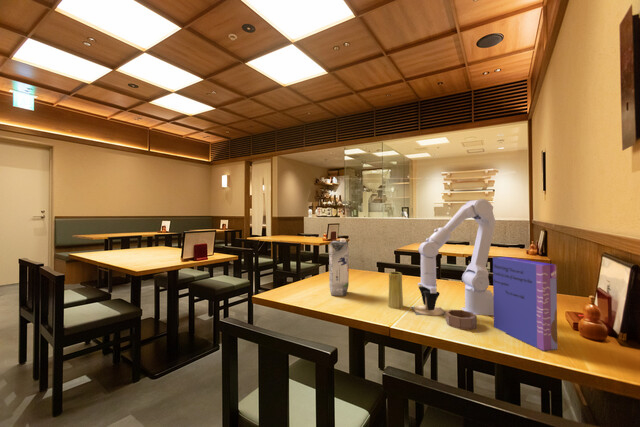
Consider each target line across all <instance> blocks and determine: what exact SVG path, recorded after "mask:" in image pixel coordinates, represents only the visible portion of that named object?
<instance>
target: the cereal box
mask: <svg viewBox="0 0 640 427" xmlns="http://www.w3.org/2000/svg"><path fill="white" fill-rule="evenodd" d="M492 281H493V282H492V284H493V285H492V286H493V288H492V290H493V292H492V294H493V302H494V316H493V327H494V328H495V329H497V330H499V331H501V332H503V333H504V334H505V335H508V336H510V338H511V337H512V338H514V339H516V340H517V341H520V342H522V343H525V344H527V345H529V346H531V347H534V348H535V349H537V350H539V351H542V352H550V351H551V352H552V351H558V350H559V348H558V303H557V302H558V298H557V297H558V296H557V295H558V293H557V284H558V283H557V264H554V263H547V262H542V261H541V262H540V261H534V260H533V261H532V260H528V259H521V258H516V257H509V256H493V257H492Z"/></svg>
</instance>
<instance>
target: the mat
mask: <svg viewBox="0 0 640 427" xmlns="http://www.w3.org/2000/svg"><path fill="white" fill-rule="evenodd" d="M414 307H415V306H410V308H411V310H412V312H413V313H414V314H415V315H416V316H424V315H423V314H420V313H417V312H415V311H414ZM438 307H439V306H438ZM439 308H441V309H443V308H442V307H439ZM438 316H440V317H442V316H445V317H446V311H445V310H444V314H442V315H438Z"/></svg>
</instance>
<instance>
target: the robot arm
mask: <svg viewBox="0 0 640 427" xmlns="http://www.w3.org/2000/svg"><path fill="white" fill-rule="evenodd" d="M493 210H494V206H493V205H492V204H491V202H490V201H489V200H487V199H485V198H480V199H476V200H475V199H473V200H472V199H471V200H468V201H466V202H465V203H464V204H463V205H461V207H460V208H459V209H458V211H456V213H455V214H454V215H453V216H452V217H451V218H450V219H449V221H447V223H446V224H445V225H444V226H442V227H440V226H439V227H438V228H434V230H433V233H432V234H431V235H430V236H429V237H427V238H426V239H425V241H424V242H422V243H420V244H419V247H418V249H417V250H418V252H419V254H420V282H417V286H418V289H419V291H420V294H421V298H422V303H423V305H425V297H426V301H427V307H428V310H434V308H435V307H436V304H437V300H438V298H439V296H440V292H439V291H437V288H438V285H437V259H436V258H437V256H438V254H439V250H440V249H441V248H442V247H443V246H444V245H445V244H446V243H447V242H448V241H449V240H450V239H451V236H452V235H451V234H452V232H453V231H454V230H456V229H457V227H458V226H460V225H461V224H462V223H463V222H464V221H465V220H467V219H470V218H471V219H474V220H475V222H476V224H478V228H477V231H476V232H477V233H476V238H475V241H474V246H473V250H472V254H471V255H472V256H471V259H470V260H471V261H470V262H469V264H468V265H467V266H466V269H465V271H464V272H463V273H462V276H461V281H462V282H463V284H464V307H462V306H461V307H460V310H464V311H468V312H472V313H473V314H475V315H476V316H492V317H494V302H493V292H492V291H491V290H490V289H488V288H489V285H490V280H489V271H488V269H487V263H488V259H489V254H490V250H491V246H492V245H491V244H492V242H493V241H492V240H493V236H494V231H495V226H496V218H495V215H494V212H493Z"/></svg>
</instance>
